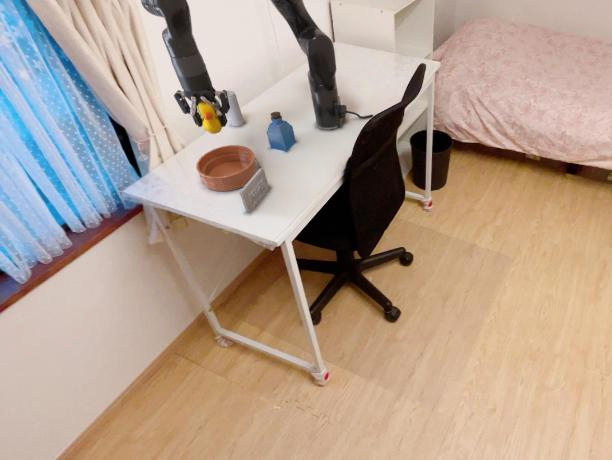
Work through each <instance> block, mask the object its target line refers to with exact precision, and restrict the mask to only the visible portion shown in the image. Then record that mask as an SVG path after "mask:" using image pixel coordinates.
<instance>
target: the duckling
mask: <svg viewBox="0 0 612 460" xmlns="http://www.w3.org/2000/svg"><path fill="white" fill-rule="evenodd" d="M197 108H198V111H197V112H199V114H200V116H201V118H202V121H203V125H202V127H203V129H204V130H205V131H206V132H207V133H209V134H212V135H213V134H215V135H216V134H218V133H220V132H221V131H222V129H223V127H222V126H221V123H220V121H219V118H218V114H217V113H216V112H215V109H213V108H212V107H211V106H210V105H208V104H206V103H205V102H200V103H199V104H198V107H197Z"/></svg>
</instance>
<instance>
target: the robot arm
mask: <svg viewBox="0 0 612 460" xmlns="http://www.w3.org/2000/svg"><path fill="white" fill-rule="evenodd" d="M269 1H270V2H271V3H272V5H273V7H274V8H275V9H276V10H277V12H278V13H279V14H280V15H281V16H282V18H283V19H284V20H285V22H286V23H287V25H288V26H289V29H290V30H291V32H292V34H293V35H294V38H295V39H296V41H297V44H298V46H299V47H300V50H301V51H302V53H303V54H304V55H305V56H306V57H307V64H308V71H307V80H308V85H309V90H310V96H311V101H312V106H313V112H314V117H315V124H316V127H317V128H318V129H320V130H324V131H332V130H336V129H340V128H341V129H342V124H343V120H345V119H346V117H347V114H351V115H355V116H356V117H358V118H359V119H369V118H373V117H374V115H373V114H368V115H364V116H362V115H360V114H359V113H356V112H354V111H349V110H348V107H347V104H341V97H340V95H339V92H338V85H337V78H336V77H337V75H336V73H337V61H336V51H335V45H334V43H333V40H332V39H331V38H330V37H329V36H328V35H327V34H326V33H325V32H324V31H323V30H322V29H321V28H320V27H319V26H318V25H317V23H316V21H314V19H313V18H312V16H311V14H310V13H309V11H308V10H307V8H306V6H305V3H304V0H269ZM140 3H141V6H142V7H143V9H144V10H145V11H146V12H147V13H149V14H150V15H153V16H156V17H160V18H163V19H164V21H165V24H166V27H165V28H164V29H163V30H162V32H161V38H162V41H163V43H164V45H165V48H166V50H167V53H168V56H169V59H170V61H171V65H172V67H173V70H174V72H175V75H176V77H177V79H178V82H179V84H180V86H181V88H182V90H183V91H181V90H179V89H178V90H177V91H175V93H174V94H173V97H174V100H175V101H176V102H177V104H178V106H179V108H180V109H181V111H182V113H183V114H184V115H187V114H188V115H190V116H191V117H192V120H193V122H194V124H195V125H196V126H197V127H198V128H202V127H203V121H202V117H201V116H200V114H199V112H198V108H197V107H198V104H199V103H200V102H205V103H206V104H208V105H210V106H211V107H212V108H213V109H215V112H216V113H217V114H218V118H219V121H220V123H221V126H222V128H225V127H226V125H227V124H228V117H227V113H228V111H229V109H230V105H229V100H228V95H227V91H228V90H226V89H222V91H221V90H216V89H215V88H214V86H213V83H212V82H213V81H212V80H211V77H210V74H209V71H208V68H207V65H206V63H205V61H204V57H203V55H202V54H201V52H200V50H199V47H198V44H197V42H196V38H195V36H194V34H193V24H192V23H193V22H192V16H191V15H192V14H191V9H190V5H189V3H188V0H140ZM216 97H217V98H218V99H217V98H216ZM186 98H187V99H186ZM187 100H189V101H190V105H189V103H188V101H187ZM220 103H221V104H220Z"/></svg>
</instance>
